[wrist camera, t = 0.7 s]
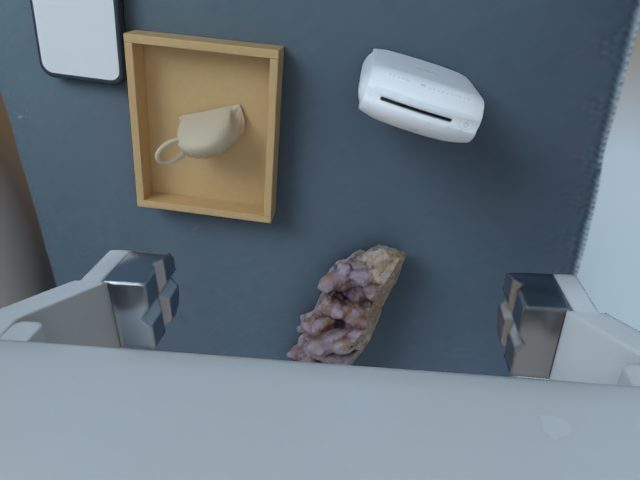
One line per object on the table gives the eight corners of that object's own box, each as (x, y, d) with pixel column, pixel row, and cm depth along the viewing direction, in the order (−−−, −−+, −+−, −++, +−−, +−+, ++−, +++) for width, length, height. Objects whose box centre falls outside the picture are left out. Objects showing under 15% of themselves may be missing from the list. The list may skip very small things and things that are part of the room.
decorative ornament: (252, 142, 55) (239, 159, 50) (177, 154, 57) (158, 172, 52) (242, 103, 53) (228, 117, 49) (165, 117, 55) (144, 132, 50)
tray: (135, 29, 51) (122, 33, 49) (284, 46, 51) (278, 50, 48) (147, 196, 60) (137, 206, 57) (275, 212, 59) (270, 223, 56)
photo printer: (474, 74, 50) (498, 106, 39) (456, 117, 52) (474, 159, 41) (369, 40, 49) (365, 63, 39) (355, 85, 52) (347, 119, 41)
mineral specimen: (356, 405, 64) (297, 425, 56) (304, 354, 70) (245, 365, 62) (430, 258, 57) (375, 258, 50) (366, 215, 63) (308, 210, 56)
